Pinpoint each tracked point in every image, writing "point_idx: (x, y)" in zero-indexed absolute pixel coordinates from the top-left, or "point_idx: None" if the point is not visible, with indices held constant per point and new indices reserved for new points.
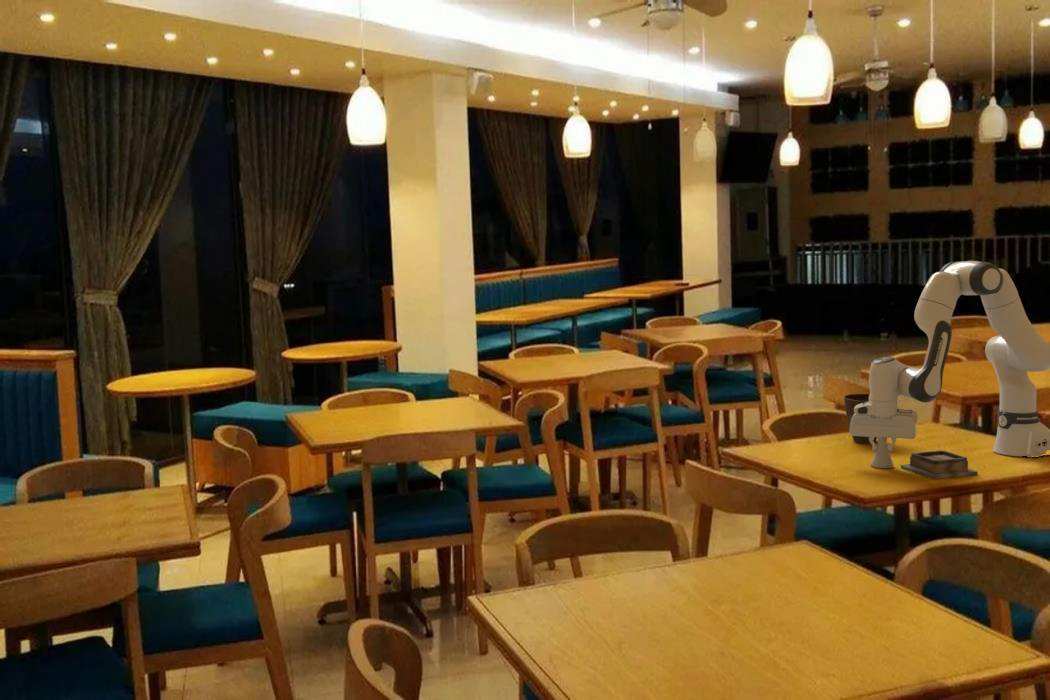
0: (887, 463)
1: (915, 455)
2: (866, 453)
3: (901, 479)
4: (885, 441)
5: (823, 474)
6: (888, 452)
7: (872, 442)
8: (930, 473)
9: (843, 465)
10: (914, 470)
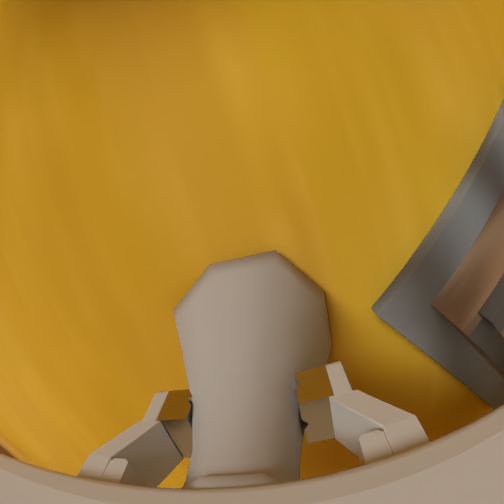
0: None
1: (496, 365)
2: (61, 36)
3: None
4: None
5: None
6: None
7: (160, 480)
8: (499, 386)
9: (79, 381)
10: (449, 372)
